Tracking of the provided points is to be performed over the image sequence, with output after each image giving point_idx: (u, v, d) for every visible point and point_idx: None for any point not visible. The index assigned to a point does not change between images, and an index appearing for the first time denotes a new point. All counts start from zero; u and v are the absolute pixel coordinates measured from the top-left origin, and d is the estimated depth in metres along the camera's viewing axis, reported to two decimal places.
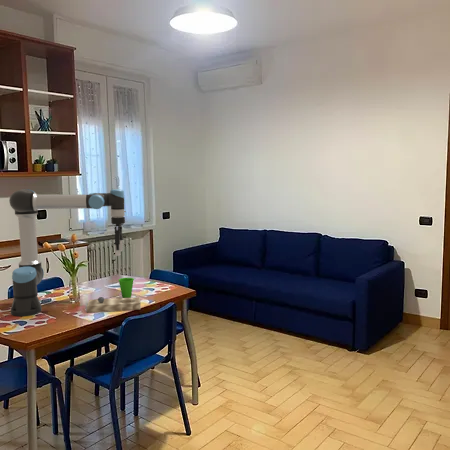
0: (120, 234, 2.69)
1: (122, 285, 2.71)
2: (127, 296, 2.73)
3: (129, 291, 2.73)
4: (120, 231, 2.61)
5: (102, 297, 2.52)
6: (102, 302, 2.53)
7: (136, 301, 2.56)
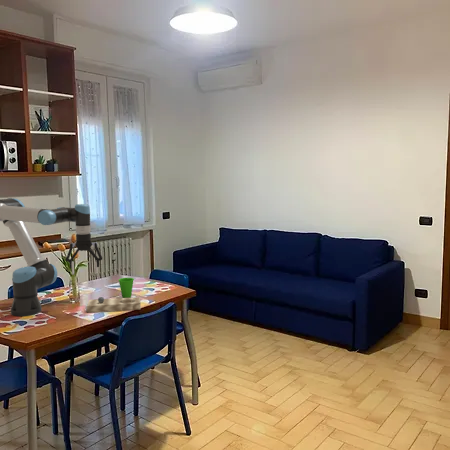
0: (91, 253, 2.48)
1: (122, 285, 2.71)
2: (127, 296, 2.73)
3: (129, 291, 2.73)
4: (77, 249, 2.46)
5: (102, 297, 2.52)
6: (102, 302, 2.53)
7: (136, 301, 2.56)
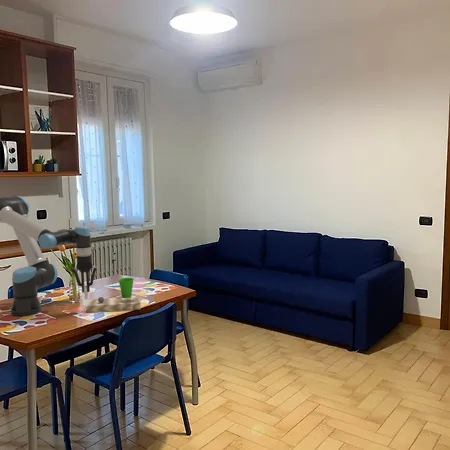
0: (86, 276, 2.49)
1: (122, 285, 2.71)
2: (127, 296, 2.73)
3: (129, 291, 2.73)
4: None
5: (102, 297, 2.52)
6: (102, 302, 2.53)
7: (136, 301, 2.56)
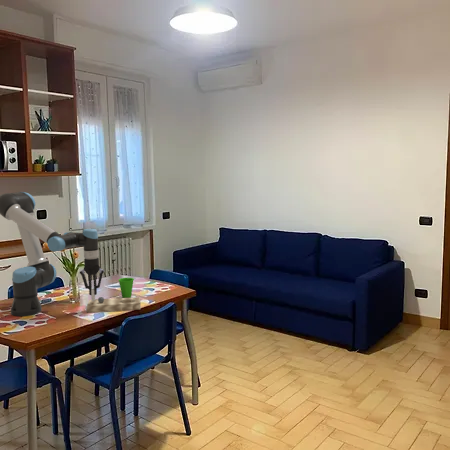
0: None
1: (122, 285, 2.71)
2: (127, 296, 2.73)
3: (129, 291, 2.73)
4: (88, 275, 2.48)
5: (102, 297, 2.52)
6: (102, 302, 2.53)
7: (136, 301, 2.56)
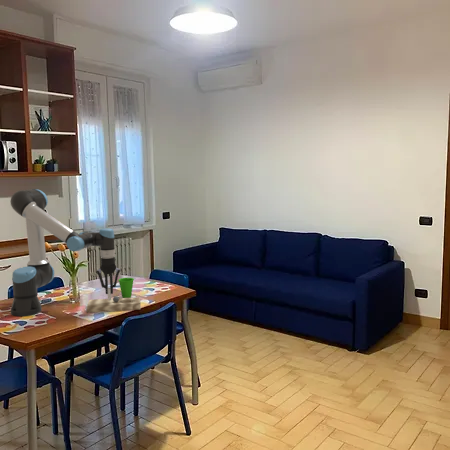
0: None
1: (122, 285, 2.71)
2: (127, 296, 2.73)
3: (129, 291, 2.73)
4: None
5: None
6: (118, 298, 2.54)
7: (136, 301, 2.56)
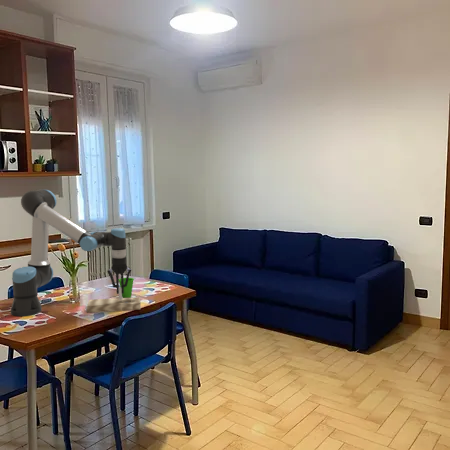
0: (121, 278, 2.52)
1: None
2: (127, 296, 2.73)
3: (129, 291, 2.73)
4: None
5: None
6: None
7: (136, 301, 2.56)
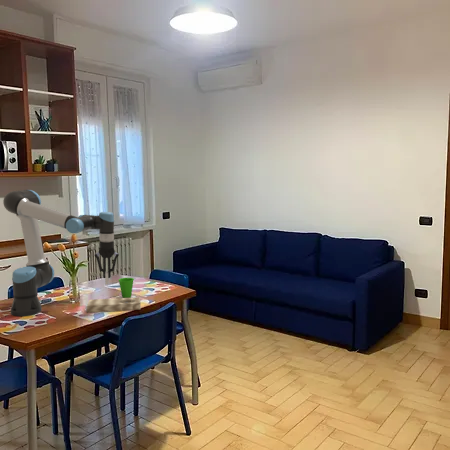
0: (108, 262, 2.50)
1: (122, 285, 2.71)
2: (127, 296, 2.73)
3: (129, 291, 2.73)
4: (103, 258, 2.49)
5: None
6: None
7: (136, 301, 2.56)
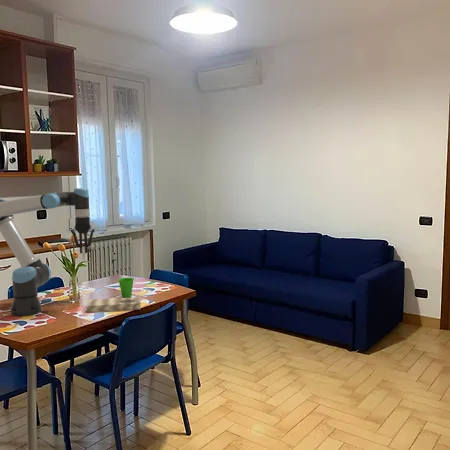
0: (84, 237, 2.54)
1: (122, 285, 2.71)
2: (127, 296, 2.73)
3: (129, 291, 2.73)
4: (79, 233, 2.53)
5: None
6: None
7: (136, 301, 2.56)
